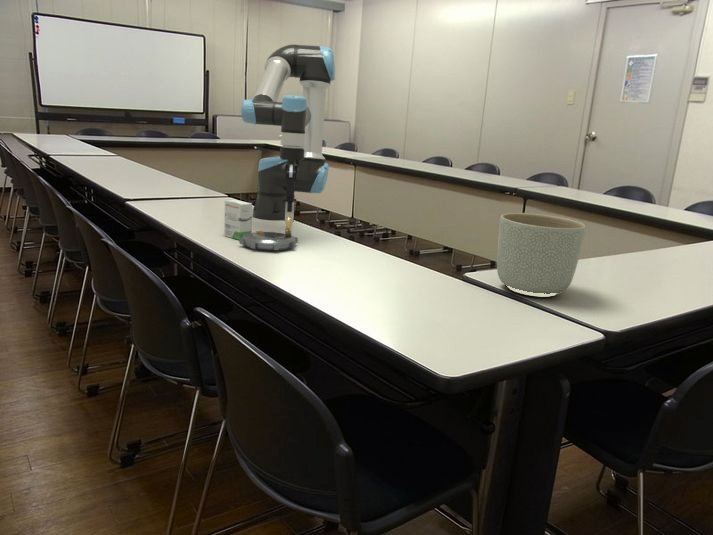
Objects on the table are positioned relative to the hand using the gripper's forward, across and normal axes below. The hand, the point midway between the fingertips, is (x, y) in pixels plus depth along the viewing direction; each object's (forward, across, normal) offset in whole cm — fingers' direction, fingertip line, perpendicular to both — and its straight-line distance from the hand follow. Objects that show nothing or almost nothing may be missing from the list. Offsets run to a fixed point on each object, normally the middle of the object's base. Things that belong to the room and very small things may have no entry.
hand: (289, 221), depth 185 cm
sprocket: (+7, +8, -6) cm, 12 cm away
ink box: (+7, -2, -16) cm, 18 cm away
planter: (+7, +44, +65) cm, 79 cm away
